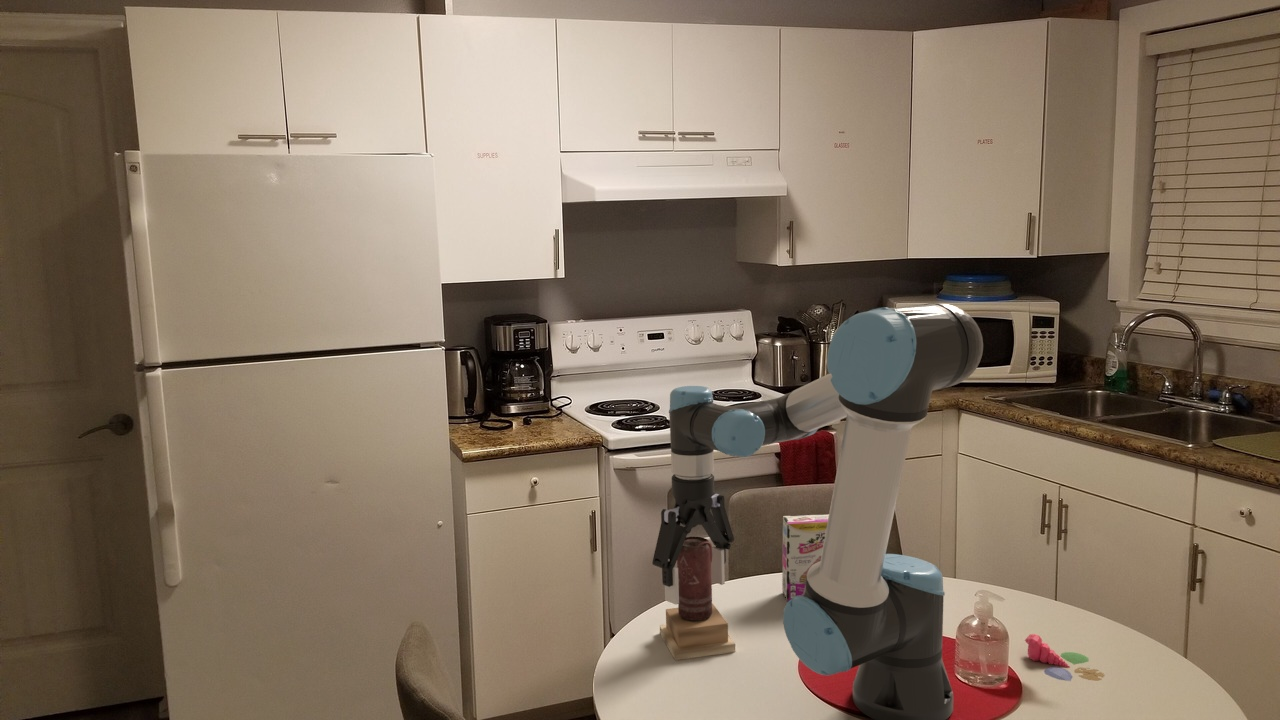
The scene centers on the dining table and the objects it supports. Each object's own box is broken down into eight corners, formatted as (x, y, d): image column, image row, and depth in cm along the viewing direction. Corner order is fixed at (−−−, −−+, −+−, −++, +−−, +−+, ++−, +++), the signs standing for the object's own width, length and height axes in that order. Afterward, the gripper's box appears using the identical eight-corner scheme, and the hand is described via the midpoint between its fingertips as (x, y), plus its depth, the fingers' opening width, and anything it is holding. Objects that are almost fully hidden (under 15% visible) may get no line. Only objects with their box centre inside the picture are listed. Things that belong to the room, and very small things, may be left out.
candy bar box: (787, 602, 182) (786, 523, 180) (781, 592, 187) (781, 515, 184) (842, 599, 183) (842, 520, 180) (835, 589, 188) (835, 512, 185)
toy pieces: (1028, 679, 150) (1029, 653, 149) (1023, 648, 160) (1024, 624, 160) (1109, 688, 146) (1111, 662, 146) (1098, 656, 157) (1100, 632, 156)
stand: (735, 651, 162) (734, 625, 161) (675, 660, 160) (674, 633, 159) (716, 625, 173) (716, 600, 172) (659, 633, 170) (659, 607, 170)
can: (714, 622, 163) (713, 546, 161) (679, 622, 163) (676, 547, 161) (712, 607, 169) (711, 534, 167) (678, 608, 169) (676, 535, 167)
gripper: (721, 457, 172) (724, 568, 175) (628, 484, 156) (633, 605, 160) (752, 464, 167) (754, 578, 170) (659, 493, 151) (663, 618, 154)
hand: (695, 592), depth 165 cm, fingers open, 11 cm apart
